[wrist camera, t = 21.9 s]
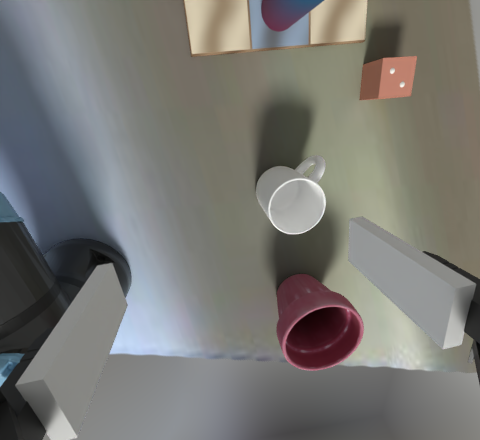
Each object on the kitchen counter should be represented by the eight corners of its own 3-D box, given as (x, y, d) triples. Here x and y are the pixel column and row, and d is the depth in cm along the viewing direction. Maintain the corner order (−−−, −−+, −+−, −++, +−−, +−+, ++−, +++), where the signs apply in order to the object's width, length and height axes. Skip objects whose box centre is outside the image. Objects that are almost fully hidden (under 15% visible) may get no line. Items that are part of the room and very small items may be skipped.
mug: (291, 136, 43) (316, 141, 33) (324, 167, 46) (356, 180, 36) (245, 193, 45) (256, 213, 36) (279, 219, 48) (298, 244, 39)
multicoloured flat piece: (191, 56, 37) (191, 55, 36) (179, -24, 34) (179, -28, 33) (362, 42, 39) (365, 40, 39) (367, -35, 36) (371, -39, 35)
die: (359, 100, 42) (379, 98, 38) (362, 64, 40) (384, 57, 36) (388, 98, 43) (411, 95, 38) (393, 63, 41) (418, 55, 36)
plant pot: (326, 315, 58) (358, 366, 46) (264, 322, 56) (280, 377, 45) (334, 259, 53) (371, 300, 41) (265, 265, 51) (283, 309, 39)
